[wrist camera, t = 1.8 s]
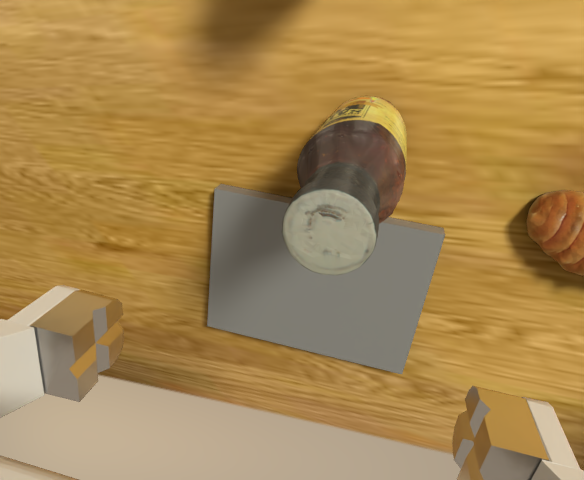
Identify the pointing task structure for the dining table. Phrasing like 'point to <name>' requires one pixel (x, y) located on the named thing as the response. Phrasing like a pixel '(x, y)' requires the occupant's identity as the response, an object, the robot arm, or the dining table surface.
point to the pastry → (559, 227)
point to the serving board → (317, 284)
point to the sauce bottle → (346, 186)
